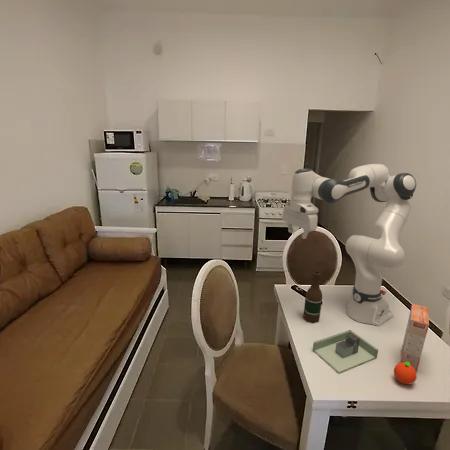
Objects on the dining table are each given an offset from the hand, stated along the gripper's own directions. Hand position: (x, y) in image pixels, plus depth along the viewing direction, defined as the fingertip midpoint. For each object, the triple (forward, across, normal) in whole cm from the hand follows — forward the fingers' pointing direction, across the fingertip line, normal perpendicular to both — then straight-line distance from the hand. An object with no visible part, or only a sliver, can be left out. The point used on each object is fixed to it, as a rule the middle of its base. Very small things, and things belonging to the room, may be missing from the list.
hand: (297, 235), depth 143 cm
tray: (+39, +35, 0) cm, 52 cm away
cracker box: (+39, +48, +21) cm, 65 cm away
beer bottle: (+39, +10, +5) cm, 41 cm away
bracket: (+38, +35, +1) cm, 52 cm away
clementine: (+39, +54, +9) cm, 67 cm away
